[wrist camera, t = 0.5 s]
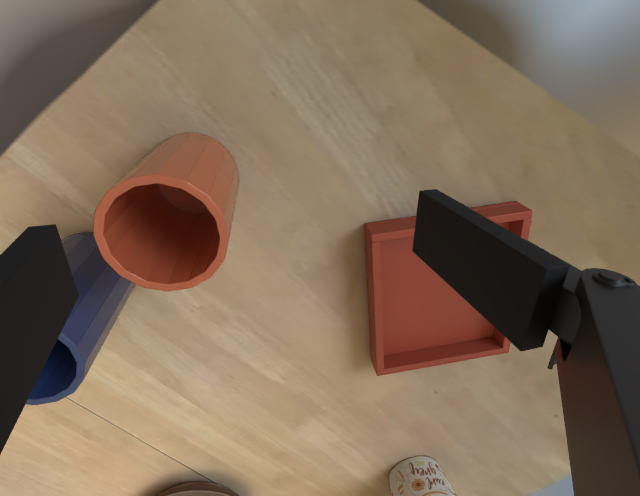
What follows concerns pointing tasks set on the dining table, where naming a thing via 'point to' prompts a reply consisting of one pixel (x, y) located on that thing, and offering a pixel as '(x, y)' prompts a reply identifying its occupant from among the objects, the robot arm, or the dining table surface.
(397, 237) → the red tray
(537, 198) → the dining table surface
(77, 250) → the blue tumbler
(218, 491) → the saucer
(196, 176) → the terracotta tumbler
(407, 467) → the mug
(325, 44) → the dining table surface
